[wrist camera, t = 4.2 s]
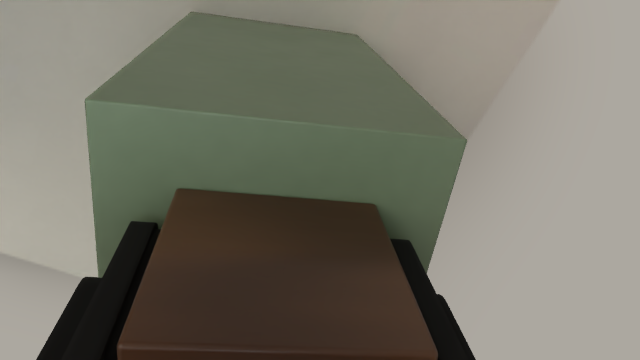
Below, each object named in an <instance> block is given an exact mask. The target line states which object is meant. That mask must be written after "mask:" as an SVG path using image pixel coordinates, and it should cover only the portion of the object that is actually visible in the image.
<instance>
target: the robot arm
mask: <svg viewBox="0 0 640 360" xmlns="http://www.w3.org/2000/svg"><path fill="white" fill-rule="evenodd" d="M160 230H161V229H158V224H157V223H155V222H140V221H131V222H130V223H129V225H128V227H127V229H126V231H125V233H124V235H123V237H122V239H121V241H120V243H119V245H118V247H117V249H116V251H115V253H114V255H113V257H112V259H111V261H110V263H109V265H108V267H107V269H106V271H105V273H104V275H103V277H102V278H98V277H85V278H83V279H82V280H81V282H80V283H79V285H78V287H77V288H76V290H75V292H74V294H73V295H72V297H71V299H70V301H69V302H68V304H67V306H66V308H65V310H64V311H63V313H62V315H61V317H60V319H59V320H58V322H57V324H56V325H55V327H54V329H53V331H52V333H51V335H50V336H49V338H48V340H47V341H46V343H45V345H44V347H43V349H42V350H41V352H40V354H39V356H38V357H37V359H36V360H118V358H117V344H118V341H119V338H120V336H121V333H122V331H123V328H124V325H125V323H126V320H127V317H128V315H129V312H130V309H131V307H132V304H133V302H134V299H135V296H136V294H137V291H138V288H139V286H140V283H141V280H142V278H143V275H144V273H145V270H146V267H147V265H148V262H149V259H150V257H151V254H152V251H153V249H154V246H155V244H156V241H157V238H158V236H159V233H160ZM390 240H391V242H392V245H393V247H394V250H395V252H396V254H397V257H398V259H399V261H400V264H401V266H402V268H403V271H404V273H405V276H406V278H407V280H408V283H409V285H410V287H411V290H412V292H413V294H414V297H415V299H416V302H417V304H418V306H419V309H420V311H421V313H422V316H423V318H424V320H425V323H426V325H427V328H428V330H429V332H430V335H431V337H432V339H433V342H434V344H435V346H436V349H437V351H438V359H437V360H476V359H475V357H474V356H473V353H472V351H471V350H470V348H469V346H468V344H467V342H466V340H465V338H464V336H463V334H462V332H461V330H460V328H459V326H458V324H457V322H456V320H455V318H454V316H453V314H452V312H451V310H450V308H449V306H448V304H447V302H446V301H445V299H444V298H443V296H441V295H439V294H436V293H435V290H434V288H433V286H432V284H431V282H430V280H429V278H428V276H427V274H426V272H425V270H424V268H423V266H422V264H421V262H420V260H419V258H418V255H417V253H416V251H415V249H414V247H413V245H412V243H411V242H410V240H404V239H390Z"/></svg>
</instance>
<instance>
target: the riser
mask: <svg viewBox="0 0 640 360" xmlns="http://www.w3.org/2000/svg"><path fill="white" fill-rule="evenodd" d="M85 110H86V123H87V136H88V149H89V162H90V174H91V187H92V200H93V213H94V226H95V239H96V251H97V264H98V277H99V278H102V277H103V275H104V273H105V271H106V269H107V267H108V265H109V263H110V261H111V259H112V257H113V255H114V253H115V251H116V249H117V247H118V245H119V243H120V241H121V239H122V237H123V235H124V233H125V231H126V229H127V227H128V225H129V223H130V222H131V221H140V222H155V223H157V224H158V229H161V228H162V225H163V223H164V220H165V217H166V215H167V212H168V209H169V207H170V204H171V201H172V199H173V196H174V194H175V191H176V190H177V189H180V188H182V189H194V190H207V191H219V192H232V193H244V194H257V195H269V196H282V197H294V198H307V199H319V200H332V201H344V202H357V203H369V204H374V205H376V207H377V209H378V212H379V214H380V216H381V219H382V221H383V224H384V226H385V228H386V231H387V233H388V235H389V238H390V239H404V240H410V242H411V243H412V245H413V247H414V249H415V251H416V253H417V255H418V258H419V260H420V262H421V264H422V266H423V268H424V270H425V272H426V273H427V270H428V267H429V263H430V260H431V257H432V254H433V251H434V247H435V244H436V240H437V238H438V234H439V231H440V228H441V224H442V221H443V218H444V214H445V211H446V208H447V205H448V201H449V198H450V195H451V192H452V189H453V185H454V182H455V179H456V175H457V172H458V169H459V166H460V162H461V159H462V156H463V152H464V149H465V146H466V143H467V139H466V138H465V137H464V136H463V135H461V134H460V133H459V132H458V131H457V130H456V129H455V128H454V127H453V126H452V125H451V124H450V123H449V122H448V121H447V120H446V119H445V118H444V117H443V116H442V115H441V114H439V113H438V112H437V111H436V110H435V109H434V108H433V107H432V106H431V105H430V104H429V103H428V102H427V101H426V100H425V99H424V98H423V97H422V96H421V95H420V94H419V93H418V92H416V91H415V90H414V89H413V88H412V87H411V86H410V85H409V84H408V83H407V82H406V81H405V80H404V79H403V78H402V77H401V76H400V75H399V74H398V73H397V72H396V71H394V70H393V69H392V68H391V67H390V66H389V65H388V64H387V63H386V62H385V61H384V60H383V59H382V58H381V57H380V56H379V55H378V54H377V53H376V52H375V51H374V50H373V49H371V48H370V47H369V46H368V45H367V44H366V43H365V42H364V41H363V40H362V39H361V38H360V37H359V36H358V35H355V34H348V33H340V32H333V31H326V30H319V29H312V28H304V27H297V26H290V25H283V24H276V23H268V22H261V21H254V20H247V19H239V18H232V17H225V16H218V15H211V14H203V13H196V12H190V13H189V14H188V15H187V16H185V17H184V18H183V19H182V20H181V21H179V22H178V23H177V24H176V25H175V26H173V27H172V28H171V29H170V30H168V31H167V32H166V33H165V34H164V35H162V36H161V37H160V38H159V39H158V40H156V41H155V42H154V43H153V44H152V45H150V46H149V47H148V48H147V49H145V50H144V51H143V52H142V53H141V54H139V55H138V56H137V57H136V58H135V59H133V60H132V61H131V62H130V63H128V64H127V65H126V66H125V67H124V68H122V69H121V70H120V71H119V72H118V73H116V74H115V75H114V76H113V77H112V78H110V79H109V80H108V81H107V82H105V83H104V84H103V85H102V86H101V87H99V88H98V89H97V90H96V91H95V92H93V93H92V94H91V95H90V96H88V97H87V98H86V99H85Z"/></svg>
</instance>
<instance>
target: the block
mask: <svg viewBox="0 0 640 360" xmlns="http://www.w3.org/2000/svg"><path fill="white" fill-rule="evenodd" d="M117 358H118V360H437V359H438V351H437V349H436V346H435V344H434V342H433V339H432V337H431V335H430V332H429V330H428V328H427V325H426V323H425V320H424V318H423V316H422V313H421V311H420V309H419V306H418V304H417V302H416V299H415V297H414V294H413V292H412V290H411V287H410V285H409V283H408V280H407V278H406V276H405V273H404V271H403V268H402V266H401V264H400V261H399V259H398V257H397V254H396V252H395V250H394V247H393V245H392V242H391V240H390V238H389V235H388V233H387V231H386V228H385V226H384V224H383V221H382V219H381V216H380V214H379V212H378V209H377V207H376V205H374V204H369V203H357V202H344V201H332V200H319V199H307V198H294V197H282V196H269V195H257V194H244V193H232V192H219V191H207V190H194V189H182V188H180V189H177V190H176V191H175V194H174V196H173V199H172V201H171V204H170V207H169V209H168V212H167V215H166V217H165V220H164V223H163V225H162V228H161V230H160V233H159V236H158V238H157V241H156V244H155V246H154V249H153V251H152V254H151V257H150V259H149V262H148V265H147V267H146V270H145V273H144V275H143V278H142V280H141V283H140V286H139V288H138V291H137V294H136V296H135V299H134V302H133V304H132V307H131V309H130V312H129V315H128V317H127V320H126V323H125V325H124V328H123V331H122V333H121V336H120V338H119V341H118V344H117Z"/></svg>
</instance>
